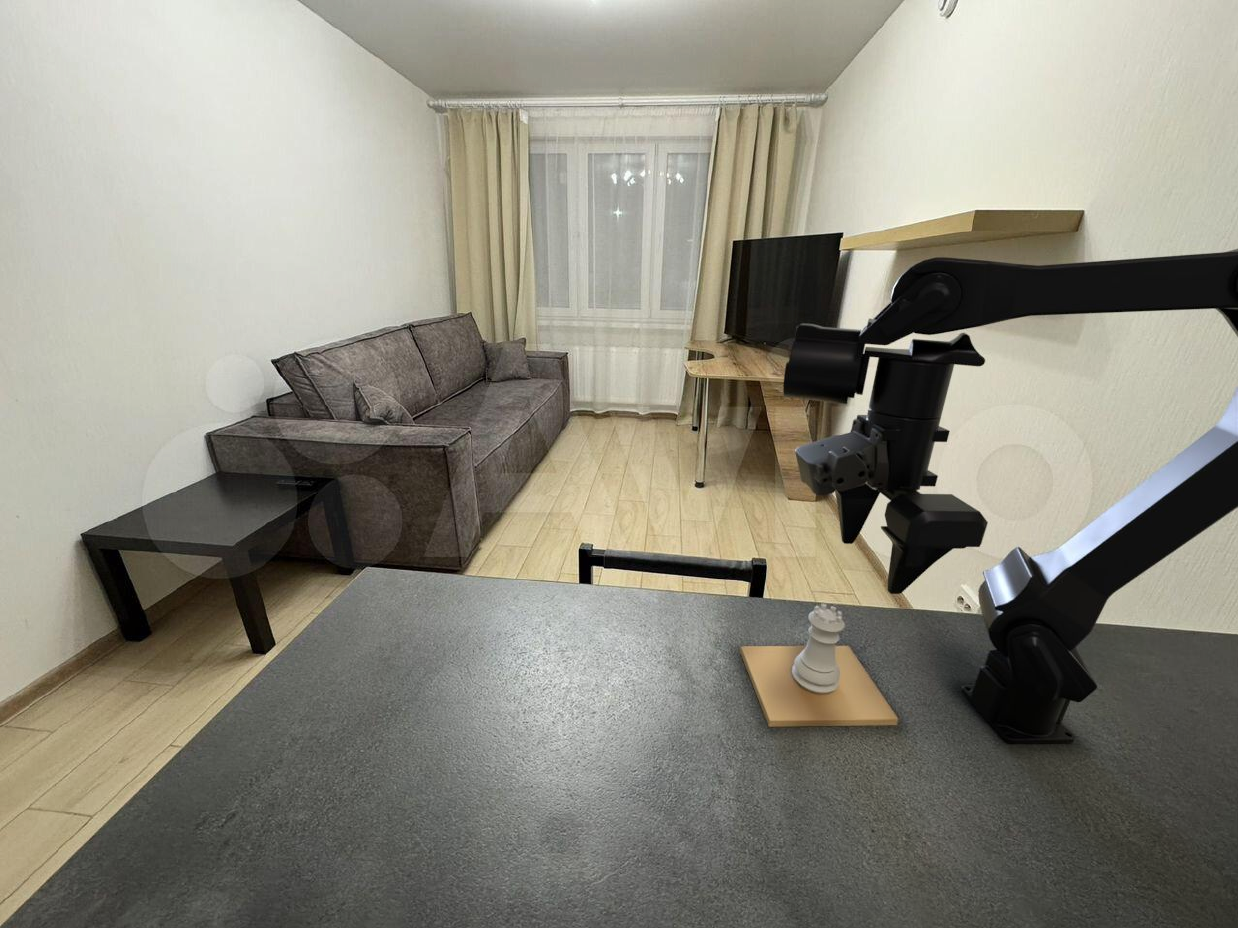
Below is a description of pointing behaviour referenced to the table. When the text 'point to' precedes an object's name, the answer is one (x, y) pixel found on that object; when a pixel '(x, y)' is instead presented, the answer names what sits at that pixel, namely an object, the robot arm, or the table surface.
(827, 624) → the white chess queen
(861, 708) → the coaster board
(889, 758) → the table surface
